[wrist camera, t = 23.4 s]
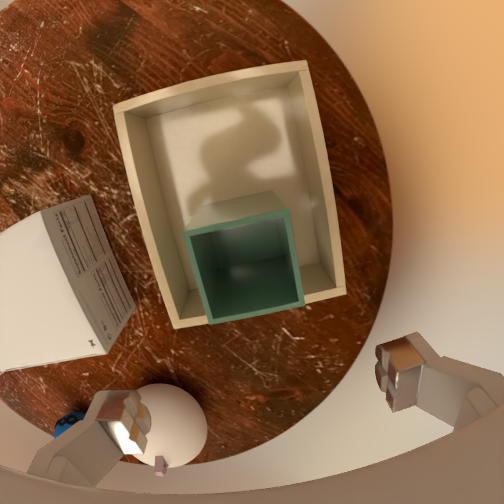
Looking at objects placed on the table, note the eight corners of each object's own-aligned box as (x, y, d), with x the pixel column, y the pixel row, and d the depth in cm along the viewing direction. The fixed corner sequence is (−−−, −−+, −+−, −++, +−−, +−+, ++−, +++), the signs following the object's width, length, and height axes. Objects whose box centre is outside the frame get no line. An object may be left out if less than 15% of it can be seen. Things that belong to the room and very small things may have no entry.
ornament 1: (77, 433, 39) (58, 477, 30) (57, 396, 36) (31, 442, 27) (123, 440, 39) (108, 489, 30) (105, 403, 37) (83, 455, 27)
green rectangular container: (212, 231, 33) (177, 152, 22) (275, 217, 32) (265, 132, 22) (228, 343, 27) (188, 304, 17) (302, 328, 27) (308, 279, 17)
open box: (139, 114, 26) (112, 105, 20) (291, 79, 26) (306, 59, 19) (185, 295, 32) (173, 329, 25) (326, 265, 32) (346, 294, 25)
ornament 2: (223, 410, 37) (221, 485, 26) (162, 429, 38) (148, 497, 27) (178, 356, 34) (158, 434, 23) (115, 381, 35) (85, 450, 24)
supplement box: (91, 190, 28) (40, 207, 19) (138, 306, 32) (109, 356, 23) (-7, 242, 29) (-55, 268, 20) (36, 334, 33) (0, 374, 24)
